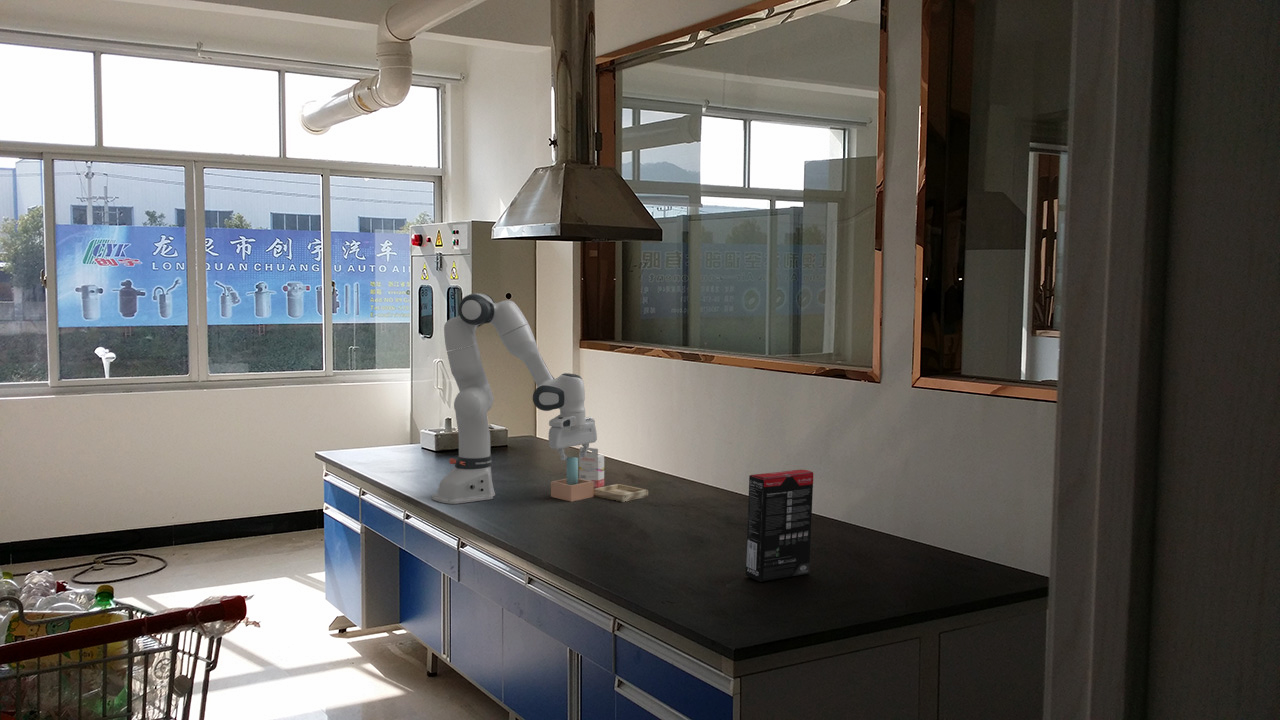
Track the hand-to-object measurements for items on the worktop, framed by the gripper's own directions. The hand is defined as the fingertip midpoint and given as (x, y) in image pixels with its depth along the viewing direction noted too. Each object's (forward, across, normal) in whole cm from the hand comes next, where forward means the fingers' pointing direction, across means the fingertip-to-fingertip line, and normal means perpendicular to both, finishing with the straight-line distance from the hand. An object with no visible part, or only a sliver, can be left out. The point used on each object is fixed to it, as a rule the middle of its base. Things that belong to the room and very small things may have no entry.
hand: (573, 458), depth 349 cm
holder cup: (+14, +1, -1) cm, 14 cm away
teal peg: (+14, +1, -1) cm, 14 cm away
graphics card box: (+16, +27, +107) cm, 112 cm away
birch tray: (+14, -12, +10) cm, 22 cm away
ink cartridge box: (+14, -17, -10) cm, 24 cm away
